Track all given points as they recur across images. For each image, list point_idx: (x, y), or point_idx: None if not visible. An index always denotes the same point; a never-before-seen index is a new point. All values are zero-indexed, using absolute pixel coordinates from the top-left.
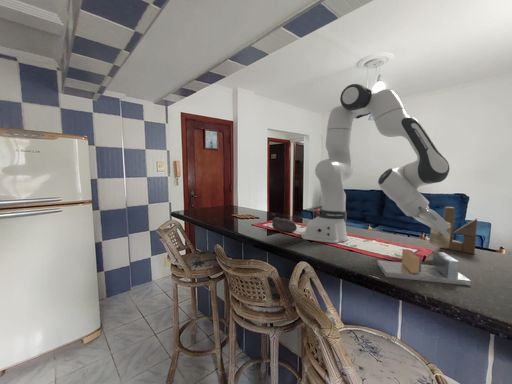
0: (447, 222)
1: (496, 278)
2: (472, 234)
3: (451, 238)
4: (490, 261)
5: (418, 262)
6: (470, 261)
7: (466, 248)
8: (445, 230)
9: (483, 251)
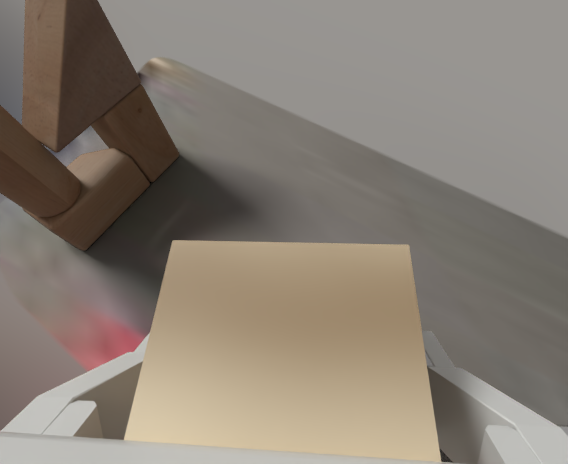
0: (305, 252)
1: (501, 237)
2: (126, 80)
3: (71, 176)
4: (269, 146)
5: None
6: (290, 221)
7: (153, 160)
8: (473, 385)
9: None
